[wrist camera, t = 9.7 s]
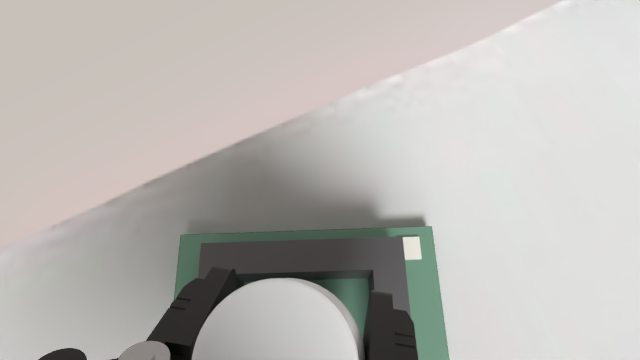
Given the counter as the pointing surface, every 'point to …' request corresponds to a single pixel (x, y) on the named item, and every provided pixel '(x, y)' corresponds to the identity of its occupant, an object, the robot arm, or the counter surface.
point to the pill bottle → (280, 325)
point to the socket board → (335, 269)
